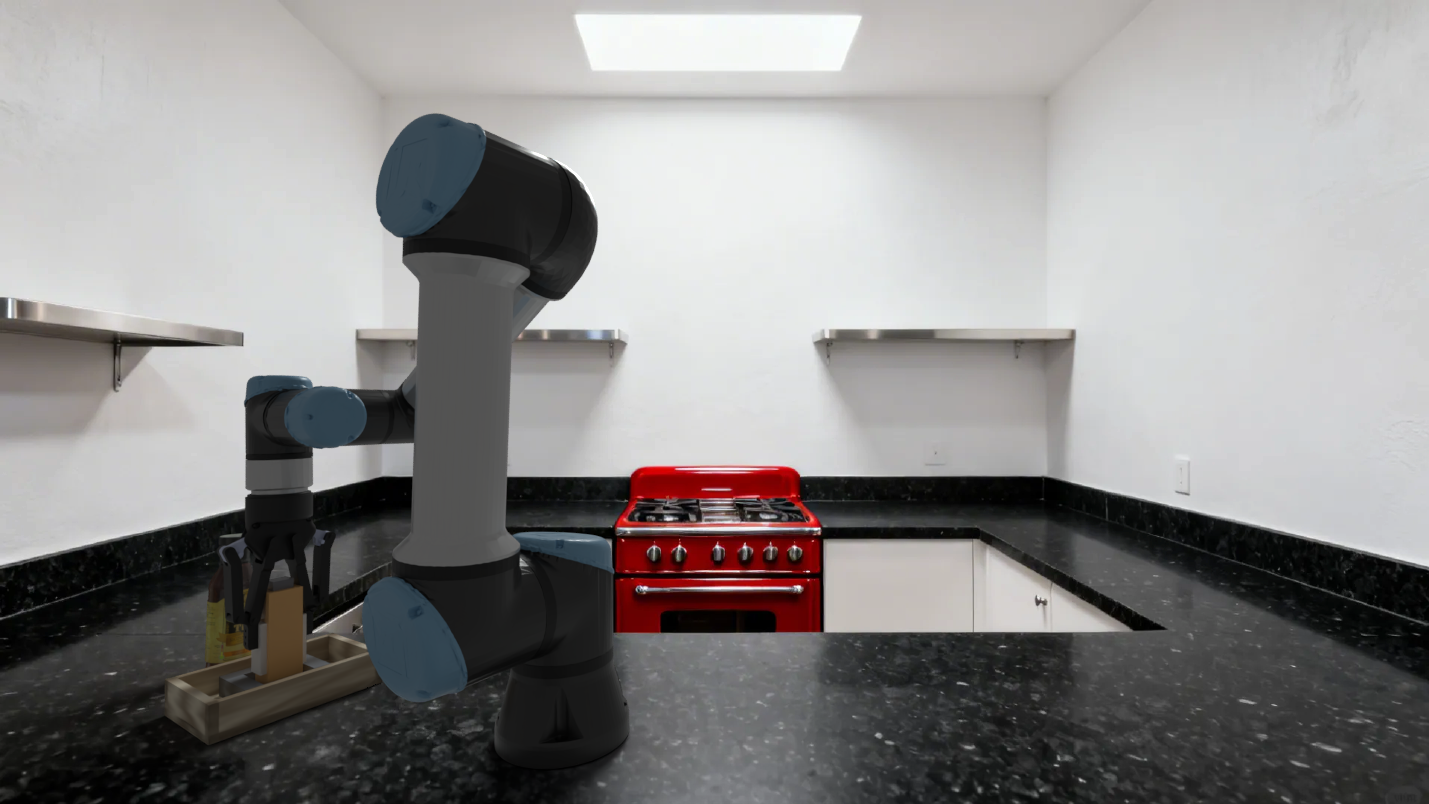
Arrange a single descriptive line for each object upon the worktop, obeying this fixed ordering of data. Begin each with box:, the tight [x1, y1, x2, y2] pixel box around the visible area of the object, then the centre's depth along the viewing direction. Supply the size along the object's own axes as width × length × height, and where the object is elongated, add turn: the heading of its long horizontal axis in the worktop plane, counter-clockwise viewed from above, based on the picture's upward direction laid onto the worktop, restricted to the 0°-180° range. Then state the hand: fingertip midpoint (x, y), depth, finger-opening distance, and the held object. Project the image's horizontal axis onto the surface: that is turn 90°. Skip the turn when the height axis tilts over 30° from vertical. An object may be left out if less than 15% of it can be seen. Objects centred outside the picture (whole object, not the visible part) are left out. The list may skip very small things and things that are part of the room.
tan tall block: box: [255, 575, 303, 684], centre depth 84 cm, size 4×4×13 cm
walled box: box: [164, 632, 383, 746], centre depth 84 cm, size 14×20×4 cm
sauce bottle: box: [204, 533, 253, 668], centre depth 95 cm, size 7×6×20 cm
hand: (279, 666), depth 84 cm, fingers closed on tan tall block, 4 cm apart
